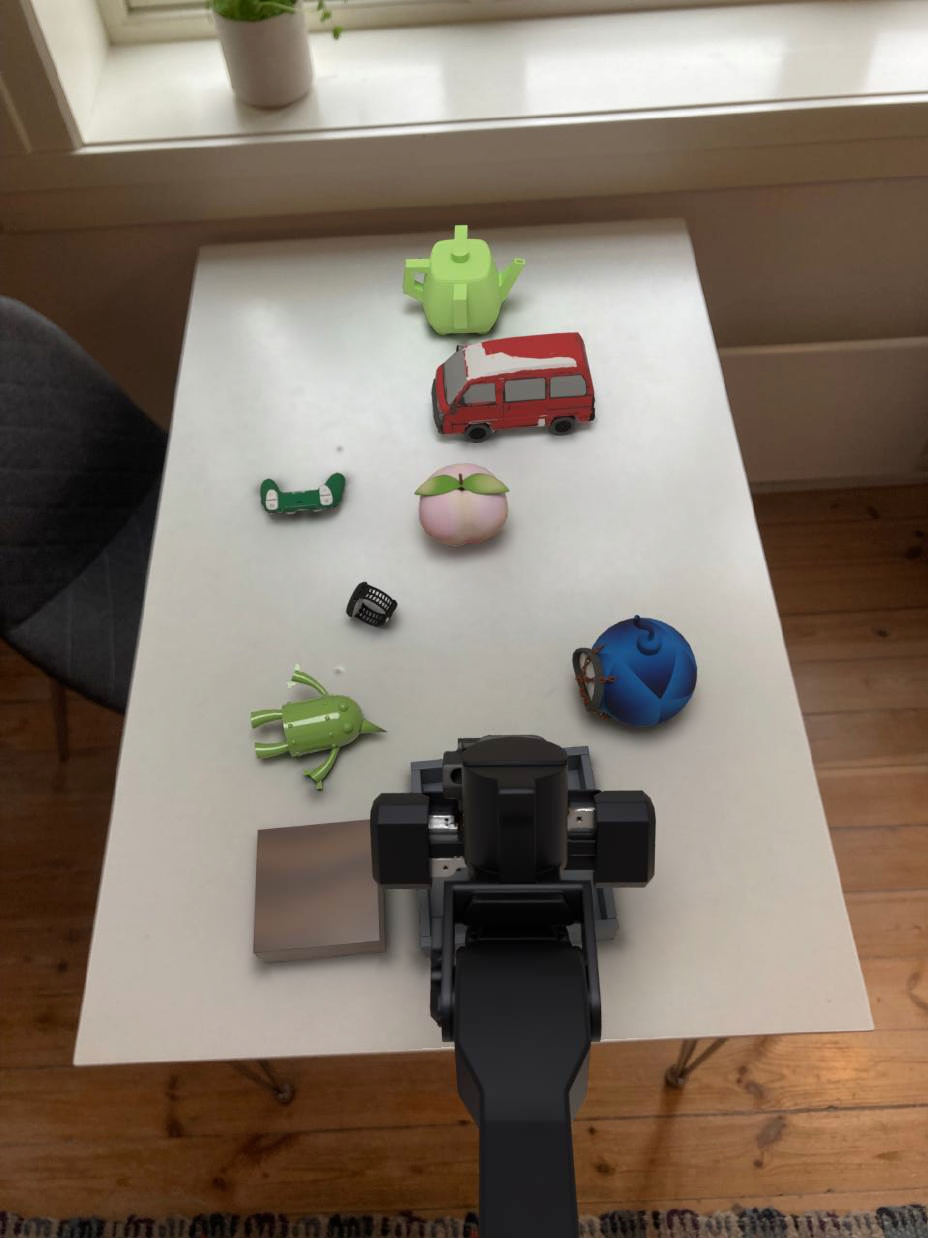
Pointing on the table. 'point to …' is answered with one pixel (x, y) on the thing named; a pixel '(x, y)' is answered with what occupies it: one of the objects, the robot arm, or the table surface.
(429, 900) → the tray
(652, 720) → the bomb
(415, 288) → the teapot
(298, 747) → the character figure
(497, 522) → the decorative fruit
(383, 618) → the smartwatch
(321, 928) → the square wooden tile
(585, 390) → the toy car
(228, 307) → the table surface
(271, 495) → the gaming controller
